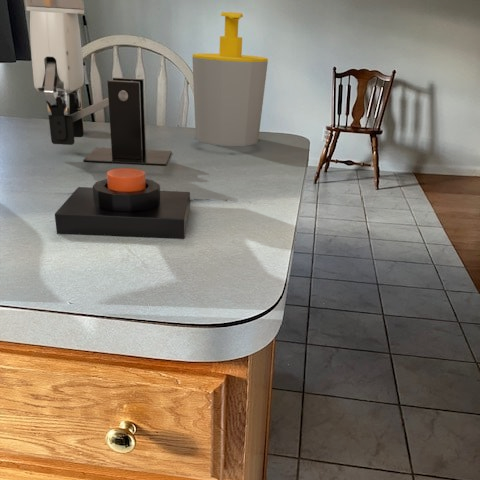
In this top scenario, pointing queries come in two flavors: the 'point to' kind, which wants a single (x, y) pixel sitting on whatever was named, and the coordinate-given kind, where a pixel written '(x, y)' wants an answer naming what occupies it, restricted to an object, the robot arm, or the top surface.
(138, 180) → the button
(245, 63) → the soap bottle
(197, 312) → the top surface
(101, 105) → the switch lever
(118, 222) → the control block
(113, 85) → the switch bracket
